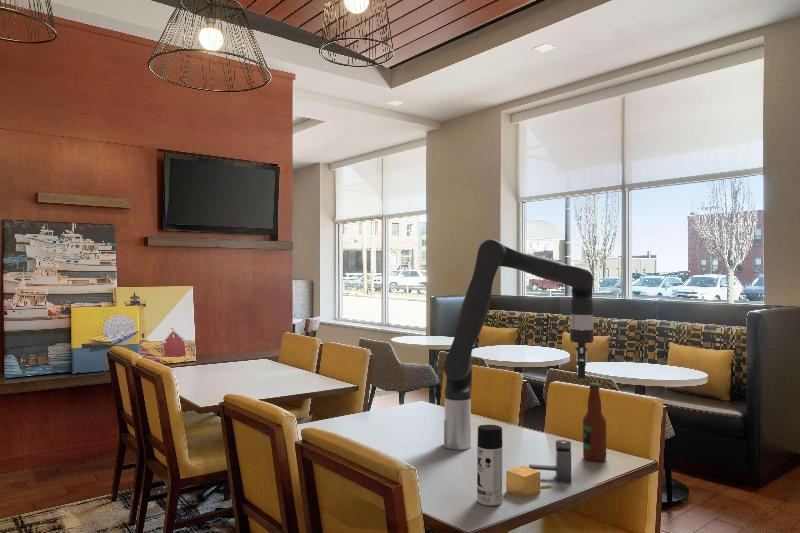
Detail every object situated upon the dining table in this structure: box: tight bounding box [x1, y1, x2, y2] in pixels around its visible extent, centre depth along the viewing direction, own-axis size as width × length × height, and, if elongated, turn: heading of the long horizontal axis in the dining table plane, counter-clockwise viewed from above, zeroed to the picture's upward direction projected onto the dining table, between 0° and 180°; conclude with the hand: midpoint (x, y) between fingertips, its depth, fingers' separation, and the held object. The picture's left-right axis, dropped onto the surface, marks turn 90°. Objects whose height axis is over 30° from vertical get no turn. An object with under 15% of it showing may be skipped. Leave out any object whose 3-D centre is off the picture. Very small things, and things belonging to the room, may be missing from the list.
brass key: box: [540, 483, 553, 489], centre depth 166 cm, size 6×2×1 cm, turn 99°
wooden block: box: [505, 465, 541, 499], centre depth 162 cm, size 7×6×6 cm
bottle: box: [582, 382, 607, 463], centre depth 192 cm, size 7×7×25 cm
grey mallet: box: [528, 439, 572, 484], centre depth 173 cm, size 12×6×11 cm, turn 79°
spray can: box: [476, 424, 503, 507], centre depth 155 cm, size 7×7×20 cm
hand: (581, 376), depth 193 cm, fingers open, 8 cm apart
